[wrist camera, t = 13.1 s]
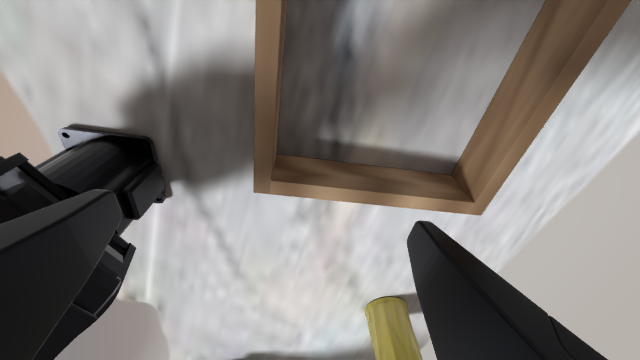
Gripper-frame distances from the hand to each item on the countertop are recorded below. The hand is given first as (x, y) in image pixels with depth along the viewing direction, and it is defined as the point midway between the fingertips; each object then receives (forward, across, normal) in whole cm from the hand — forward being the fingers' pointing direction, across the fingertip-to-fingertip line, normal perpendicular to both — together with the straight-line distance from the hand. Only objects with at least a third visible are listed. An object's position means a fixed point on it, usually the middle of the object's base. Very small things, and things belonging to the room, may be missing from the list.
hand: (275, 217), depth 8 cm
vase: (+13, -16, +28) cm, 35 cm away
